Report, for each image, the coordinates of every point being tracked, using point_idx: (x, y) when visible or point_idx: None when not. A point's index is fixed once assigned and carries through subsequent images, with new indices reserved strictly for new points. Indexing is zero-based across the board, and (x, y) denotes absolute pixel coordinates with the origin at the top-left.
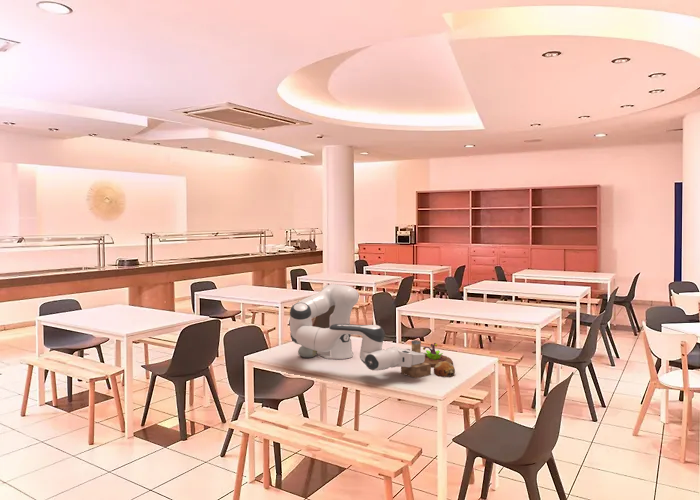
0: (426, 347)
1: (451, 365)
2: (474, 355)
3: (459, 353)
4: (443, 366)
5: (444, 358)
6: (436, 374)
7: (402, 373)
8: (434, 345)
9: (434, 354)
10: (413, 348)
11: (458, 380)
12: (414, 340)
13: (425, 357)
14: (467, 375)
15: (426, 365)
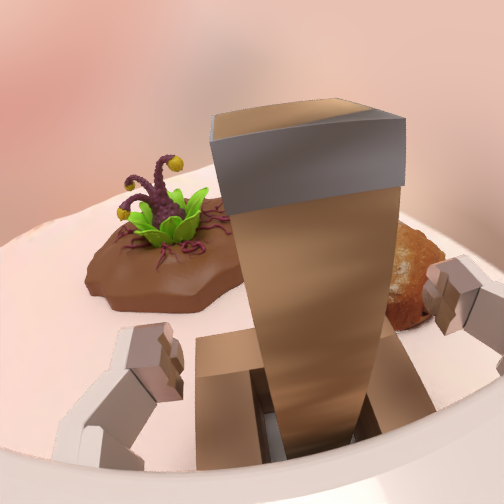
0: (132, 200)
1: (404, 224)
2: (213, 165)
3: (172, 178)
4: (430, 258)
5: (206, 208)
6: (394, 327)
7: None
8: (161, 171)
9: (197, 212)
10: (313, 303)
11: (491, 279)
12: (227, 120)
13: (163, 253)
14: (420, 229)
15: (399, 342)
